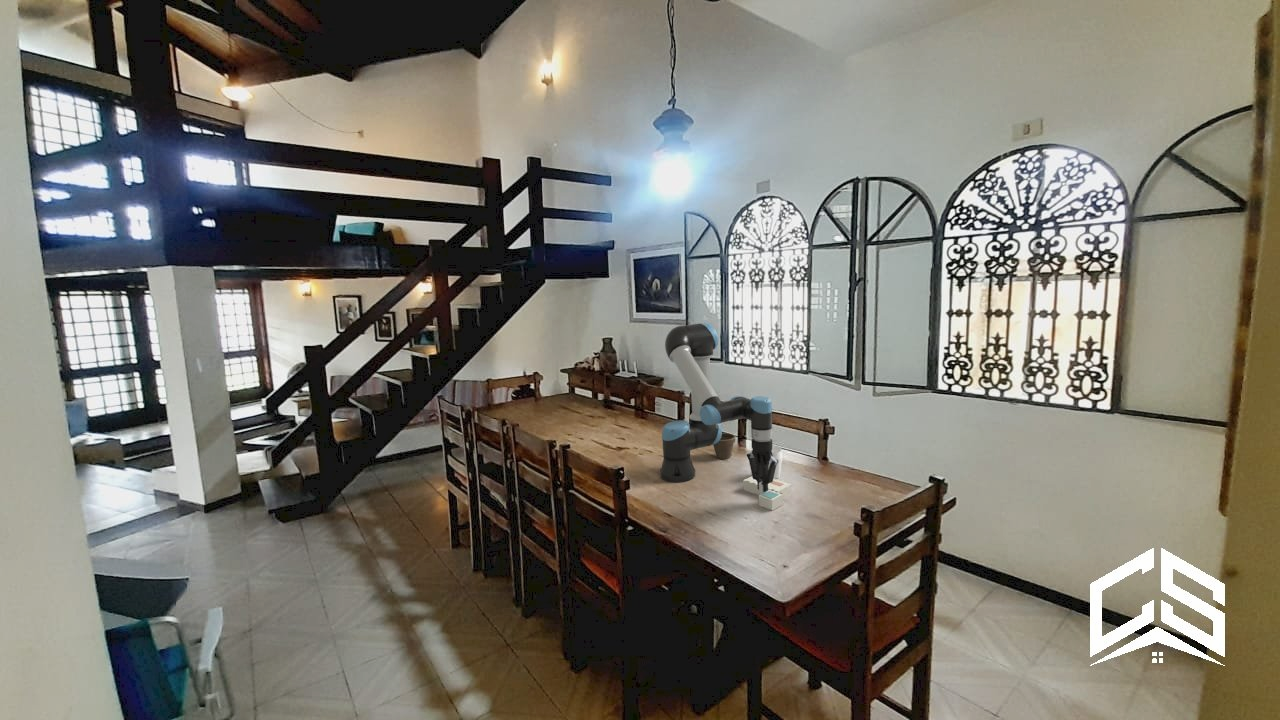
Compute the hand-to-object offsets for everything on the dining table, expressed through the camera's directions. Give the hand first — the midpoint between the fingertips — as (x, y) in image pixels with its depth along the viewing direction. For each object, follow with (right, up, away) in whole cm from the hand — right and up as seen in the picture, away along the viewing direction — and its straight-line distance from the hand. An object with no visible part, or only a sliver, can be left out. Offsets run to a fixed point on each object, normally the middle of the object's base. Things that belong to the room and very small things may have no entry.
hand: (763, 498), depth 198 cm
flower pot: (-7, +7, +49) cm, 50 cm away
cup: (+9, +3, +24) cm, 26 cm away
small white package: (+4, 0, +9) cm, 10 cm away
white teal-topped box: (+2, -2, -3) cm, 4 cm away
